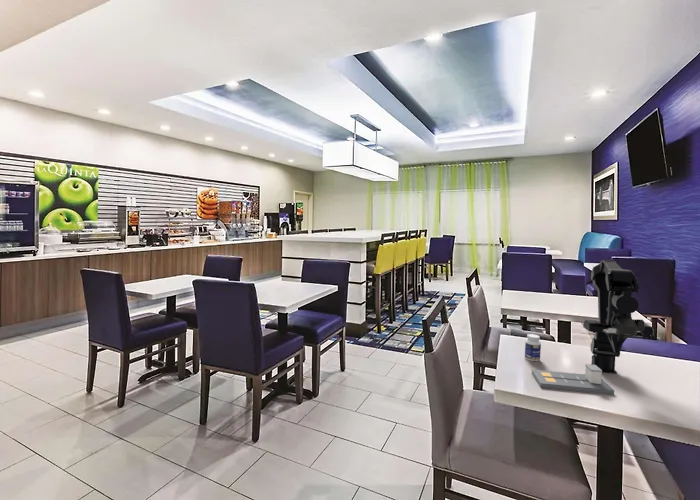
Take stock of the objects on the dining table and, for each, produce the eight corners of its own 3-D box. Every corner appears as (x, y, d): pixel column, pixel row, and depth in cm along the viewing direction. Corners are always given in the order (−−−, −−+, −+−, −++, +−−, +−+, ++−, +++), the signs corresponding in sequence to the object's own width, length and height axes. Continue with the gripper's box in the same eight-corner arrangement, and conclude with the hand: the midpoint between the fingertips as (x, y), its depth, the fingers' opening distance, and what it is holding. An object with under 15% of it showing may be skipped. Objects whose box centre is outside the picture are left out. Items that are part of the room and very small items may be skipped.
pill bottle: (534, 362, 145) (535, 338, 145) (521, 358, 150) (522, 334, 150) (543, 360, 148) (544, 336, 147) (530, 355, 153) (531, 332, 152)
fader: (594, 377, 127) (595, 364, 126) (601, 384, 122) (602, 370, 121) (584, 376, 127) (585, 364, 127) (590, 383, 122) (591, 369, 122)
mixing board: (598, 379, 130) (598, 375, 129) (614, 394, 118) (614, 390, 118) (531, 373, 135) (531, 369, 135) (540, 387, 123) (540, 382, 123)
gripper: (597, 310, 116) (594, 358, 117) (665, 314, 111) (662, 363, 112) (583, 303, 126) (581, 347, 128) (645, 306, 122) (642, 351, 123)
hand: (616, 352), depth 122 cm, fingers closed
